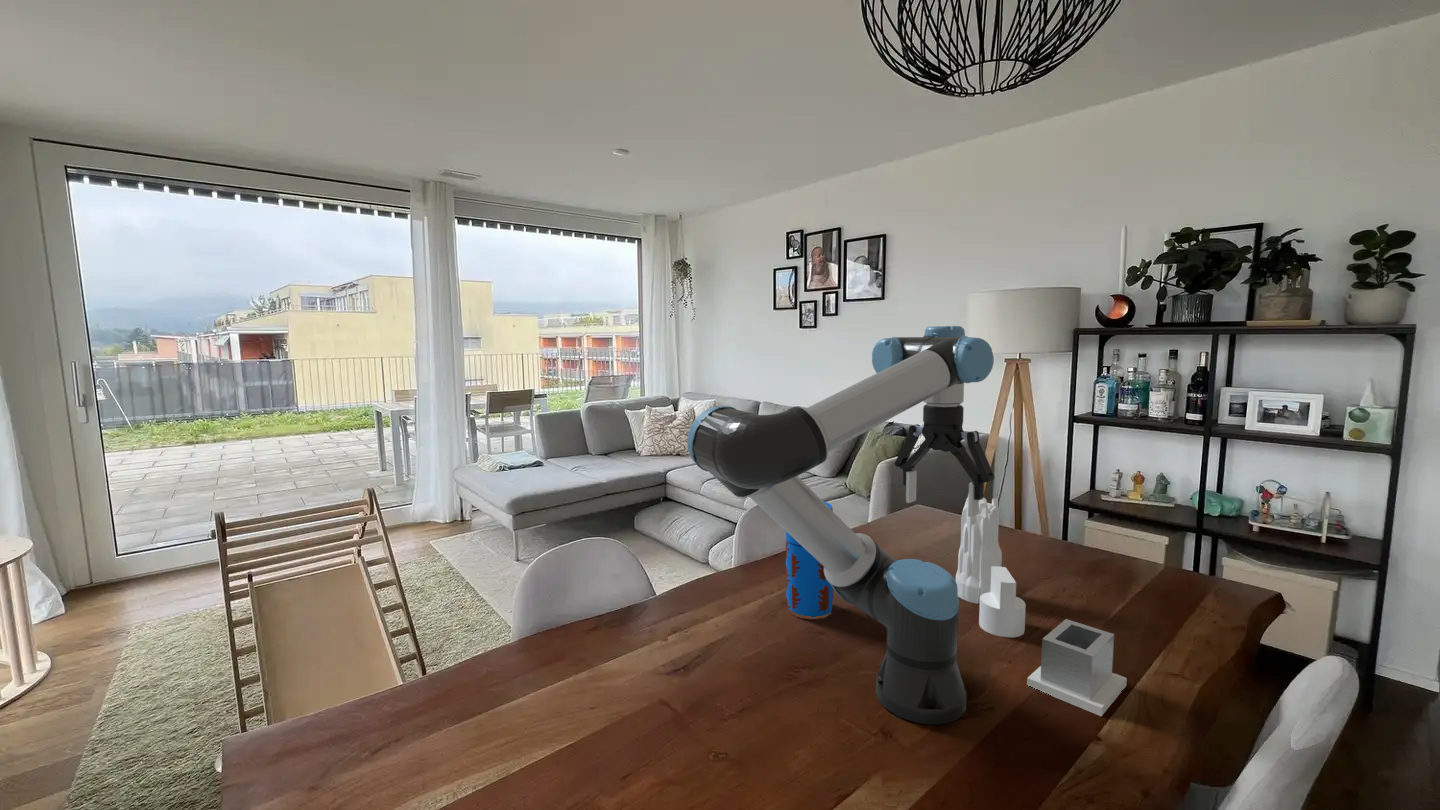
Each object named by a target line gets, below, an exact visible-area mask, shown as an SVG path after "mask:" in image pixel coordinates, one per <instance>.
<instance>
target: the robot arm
mask: <svg viewBox="0 0 1440 810" xmlns="http://www.w3.org/2000/svg"><path fill="white" fill-rule="evenodd" d="M965 332H966V331H965V329H964V328H963V326H961V325H944V326H939V325H937V326H927V327H926V328H925V329H924V335H923V336H913V337H912V336H909V337H908V336H906V337H905V336H904V337H903V336H901V337H900V336H899V337H898V336H896V337H895V336H892V337H884V338H881V339H880V340H878V341H876V343H875V344H874V347H873V349H872V351H871V352H872V353H871V363H872V367H873V369H874V372H875V374H872V375H871V376H868V377H867V378H864V379H863V380H860V381H859V382H856V383H855V384H853V385H850V386H848V387H846V388H843V390H840V391H838V392H836V393H834V394H833V395H830V396H829V397H825V398H824V399H822V400H820V401H818V402H816V403H814V404H811V405H809V406H808V407H806V408H805V407H803V406H801V405H796V406H793V407H791V408H788V409H787V410H783V411H781V412H778V413H773V414H756V413H753V412H749V411H743V410H739V409H736V407H733V406H728V405H727V406H726V405H723V406H714V407H710V408H708V409H706V410H704V411H702V412H701V413H700V414H699V415H698V416H696V418H695V419H694V421H692V424H691V425H690V428H689V430H688V434H687V444H686V445H687V451H688V454H689V456H690V459H691V460H692V461H693V462H694V464H695V465H696V466H697V467H698V468H699V469H701V470H702V471H705V472H708V473H709V474H711V475H712V476H713V477H714V478H715V479H716V480H717V481H718V482H719V483H721V484H722V485H723V486H724V487H725V488H726V489H727V490H728V491H730V492H731V493H732V494H733V496H735V497H736V498H740V499H746V498H750V499H751V500H752V501H753V502H754V503H755V504H756V505H757V506H758V507H760V509H762V511H764V512H765V513H766V514H767V515H768V516H769V517H770V518H771V519H772V520H773V521H774V522H776V523H777V525H779V526H780V528H782V529H783V530H784V531H785V533H786V532H787V533H789V534H790V535H791V536H792V537H793V538H794V539H795V540H796V541H797V542H798V543H799V544H800V545H801V546H802V547H804V548H805V549H806V550H807V551H808V552H809V553H810V554H811V555H812V556H813V557H814V558H815V559H816V560H817V561H819V562H820V563H821V564H822V565H823V566H824V575H825V577H826V579H827V581H828V582H829V583H830V584H831V586H832V588H833V592H835V593H836V594H837V596H839V598H841V599H842V600H843V601H845V602H846V603H848V604H850V605H852V606H854V608H857V610H860V611H861V612H863V613H864V614H866V615H868V616H869V617H871V618H873V619H874V620H876V621H877V622H879V624H881V625H882V626H884V627H885V628H886V651H885V655H884V658H883V660H882V663H881V665H880V668H879V671H878V673H877V676H876V681H875V694H877V695H876V697H878V698H877V700H878V701H879V703H880V704H881V705H882V707H884V708H885V709H886V708H887V709H888V710H889V711H888V710H887V709H886V710H887V711H888V712H890V711H891V712H892V714H893V713H894V714H893V715H895V714H896V715H895V716H897V717H899V718H901V719H903V718H904V720H906V719H907V720H906V721H909V720H910V722H912V721H913V722H912V723H917V724H922V725H932V724H933V725H934V724H935V725H945V724H949V723H953V722H955V721H957V720H959V719H960V718H961V717H962V716H963V715H964V714H965V712H966V709H967V691H966V688H965V685H964V682H963V679H962V675H961V672H960V668H959V666H958V661H957V656H958V654H957V653H958V652H957V650H958V631H959V627H958V626H959V609H960V600H959V597H958V588H957V583H956V578H955V577H954V576H953V575H952V574H951V573H950V572H949V571H948V570H946V569H945V568H943V567H942V566H941V565H940V566H939V565H938V564H935V563H933V562H930V561H925V562H924V561H922V560H921V559H918V558H904V559H899V560H898V559H895V558H893V557H892V556H891V555H889V554H888V553H886V551H885V550H883V549H882V547H881V546H880V545H879V544H878V543H876V541H875V540H873V539H872V538H871V537H870V536H869V535H868V534H865V533H859V532H858V533H857V532H856V533H855V532H854V530H852V529H851V527H850V526H848V525H847V524H846V522H844V521H843V520H842V519H841V518H840V517H839V516H838V514H836V513H835V511H834V510H833V511H832V510H831V509H830V508H829V507H828V506H827V505H826V504H825V503H824V502H825V501H823V499H821V498H820V496H818V495H817V494H816V493H815V491H813V490H812V489H811V488H810V487H809V485H807V484H806V483H805V482H804V480H802V479H801V478H800V477H799V476H800V475H802V474H804V473H806V472H808V471H810V470H812V469H814V468H815V467H817V466H819V465H821V464H823V463H824V462H826V461H827V459H828V456H829V453H830V452H831V451H832V450H835V449H837V448H838V447H840V446H842V445H844V444H846V443H848V442H850V441H852V440H853V439H855V438H857V437H859V436H861V435H863V434H864V433H866V432H868V431H870V430H872V429H873V428H876V427H879V425H881V424H883V423H885V422H887V421H889V420H891V419H893V418H894V417H896V416H898V415H899V414H902V413H903V412H906V411H907V410H909V409H911V408H913V407H914V406H917V405H918V404H920V403H922V402H924V403H926V404H924V406H923V408H922V411H923V412H922V414H923V415H922V422H923V426H921V425H920V424H911V425H909V427H908V434H907V437H906V439H905V441H904V442H903V443H904V444H903V445H902V448H901V449H900V451H899V454H898V456H897V458H896V459H895V462H894V466H895V467H897V468H900V469H901V470H902V475H903V476H902V484H903V486H905V503H907V504H911V503H913V502H916V501H917V477H918V476H917V475H918V474H917V472H918V471H917V470H915V467H916V466H917V465H918V464H919V462H921V460H922V459H923V458H924V457H925V456H926V455H927V454H928V453H929V451H931V449H932V450H933V451H942V452H945V453H947V452H950V453H951V455H953V456H954V457H955V458H956V460H957V461H958V463H960V465H961V466H962V468H963V470H964V471H965V473H967V475H968V476H969V478H970V479H971V481H972V482H969V483H968V494H969V502H968V516H969V517H973V516H976V515H978V514H979V500H981V499H983V498H984V492H985V491H984V489H985V483H988V482H989V483H990V482H991V481H994V480H995V478H996V477H995V475H994V472H993V470H992V468H991V465H990V463H989V461H988V458H987V456H986V454H985V451H984V450H983V447H982V445H981V443H980V442H981V441H980V432H979V431H977V430H973V431H964V428H963V426H964V425H963V424H964V410H965V409H964V406H963V405H961V404H963V403H964V401H965V400H964V399H965V384H970V383H971V384H972V383H980V382H982V381H984V380H986V379H987V377H988V376H989V375H990V373H992V370H993V367H994V359H995V357H994V352H993V348H992V347H991V345H990V344H989V343H988V342H987V341H986V340H985V339H983V338H980V337H975V336H974V337H972V336H967V335H966V333H965ZM921 435H922V436H923V437H924V440H923V441H922V443H921V444H920V445H919V447H918V448H917V449H916V451H915V452H914V453H913V454H912V455H911V453H912V452H913V450H914V448H915V447H916V445H917V442H918V440H919V438H920V437H921ZM963 440H964V442H965V443H967V447H968V450H969V451H970V454H971V456H972V458H973V459H972V458H971V456H970V455H969V453H968V452H967V451H966V447H965V446H964V444H963V443H962V441H963ZM891 712H890V713H891Z"/></svg>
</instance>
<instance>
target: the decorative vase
mask: <svg viewBox="0 0 1440 810" xmlns="http://www.w3.org/2000/svg"><path fill="white" fill-rule="evenodd" d="M968 502H969V493H968V494H967V498H966V499H965V503H964V507H963V509H962V513H961V518H960V520H961V521H960V522H961V523H960V546H959V549H958V557H957V570H956V574H955V581H956V583H957V588H958V599H959V598H960V599H961V600H964V601H965V602H968V603H972V604H976V605H978V604H979V605H980V596H981V595H982V594H984V593H988V592H990V591H991V567H992V566H999V567H1002V563H1003V561H1002V560H1003V558H1002V557H1003V553H1002V549H1001V547H1000V543H999V526H1000V525H999V521H1000V520H999V519H1000V516H999V515H1000V512H999V499H997V498H996V497H993V498H992V499H991V503H990V502H988V501H987V499H986V497H983V499H981V500H979V514H978V515H976V516H973V517H969V516H968Z"/></svg>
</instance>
